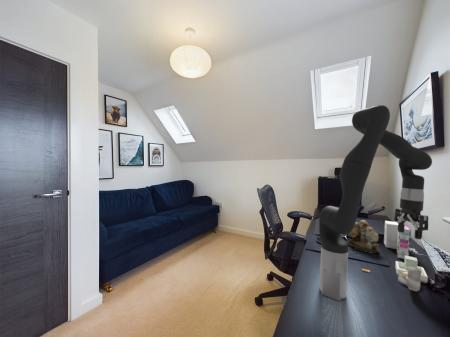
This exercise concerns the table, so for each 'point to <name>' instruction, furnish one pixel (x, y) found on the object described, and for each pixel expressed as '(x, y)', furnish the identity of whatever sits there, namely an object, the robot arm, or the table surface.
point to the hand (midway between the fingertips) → (408, 235)
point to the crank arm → (412, 278)
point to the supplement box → (391, 234)
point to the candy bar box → (403, 243)
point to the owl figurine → (364, 237)
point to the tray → (400, 269)
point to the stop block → (410, 262)
